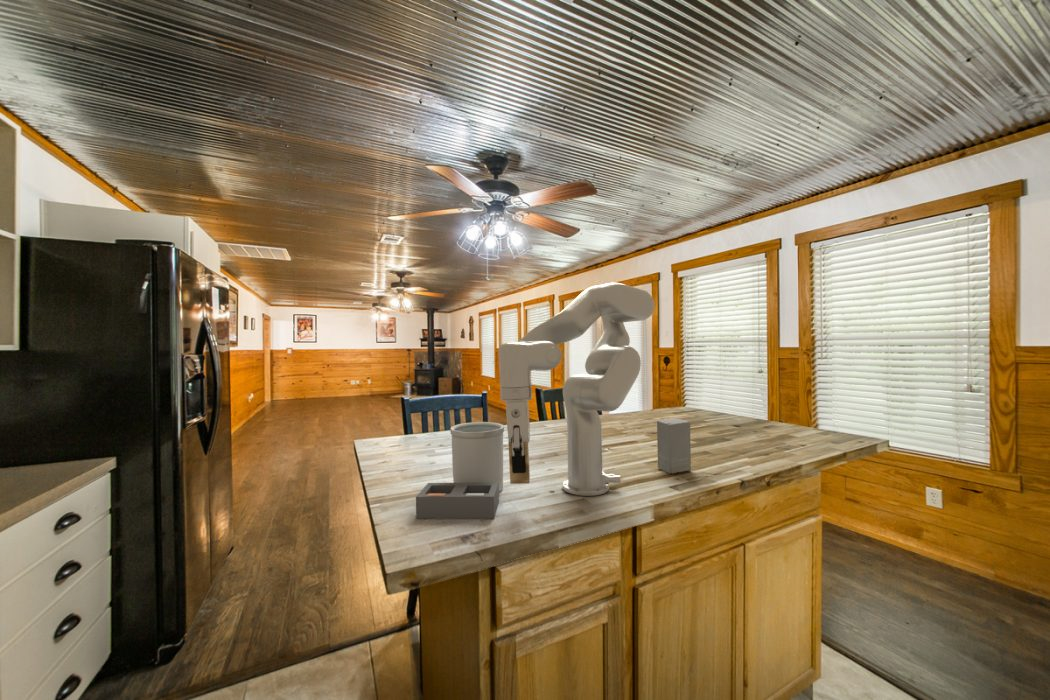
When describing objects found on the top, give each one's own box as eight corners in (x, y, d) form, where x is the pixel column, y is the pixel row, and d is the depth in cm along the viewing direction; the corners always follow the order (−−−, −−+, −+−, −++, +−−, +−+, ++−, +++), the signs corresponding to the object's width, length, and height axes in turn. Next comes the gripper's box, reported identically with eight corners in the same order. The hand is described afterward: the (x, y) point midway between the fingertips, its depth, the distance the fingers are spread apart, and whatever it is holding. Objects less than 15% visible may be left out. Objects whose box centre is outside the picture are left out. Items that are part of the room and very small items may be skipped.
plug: (529, 476, 98) (527, 436, 98) (529, 483, 93) (527, 441, 93) (511, 477, 98) (509, 437, 98) (510, 483, 93) (508, 441, 93)
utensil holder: (497, 500, 101) (495, 432, 102) (442, 497, 104) (441, 430, 105) (510, 482, 116) (509, 422, 116) (462, 479, 119) (461, 421, 119)
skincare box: (677, 465, 130) (676, 417, 130) (693, 471, 123) (692, 420, 123) (655, 468, 127) (654, 419, 127) (670, 474, 120) (669, 422, 120)
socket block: (498, 502, 100) (498, 481, 100) (494, 518, 90) (493, 495, 90) (428, 502, 101) (428, 482, 101) (416, 518, 91) (415, 496, 91)
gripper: (531, 397, 87) (534, 480, 87) (532, 389, 104) (535, 458, 104) (497, 399, 87) (501, 481, 87) (503, 390, 104) (507, 459, 104)
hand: (519, 468), depth 95 cm, fingers closed on plug, 4 cm apart
